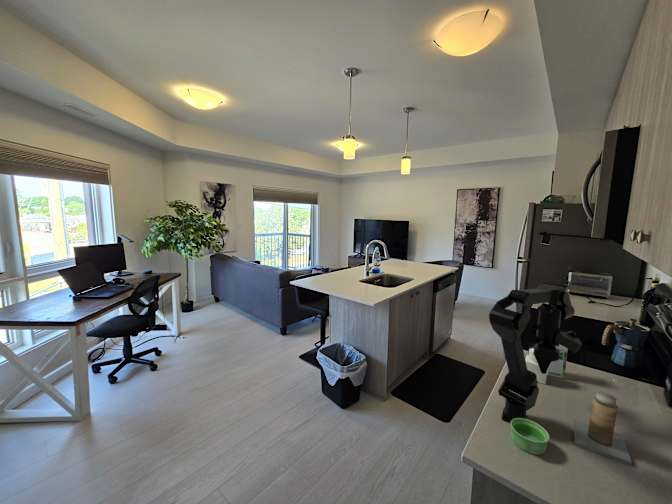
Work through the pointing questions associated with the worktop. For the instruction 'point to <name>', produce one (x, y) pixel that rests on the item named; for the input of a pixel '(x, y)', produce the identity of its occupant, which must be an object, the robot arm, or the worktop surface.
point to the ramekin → (529, 436)
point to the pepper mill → (603, 418)
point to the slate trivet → (613, 451)
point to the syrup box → (559, 363)
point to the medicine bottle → (534, 366)
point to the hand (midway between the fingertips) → (543, 367)
